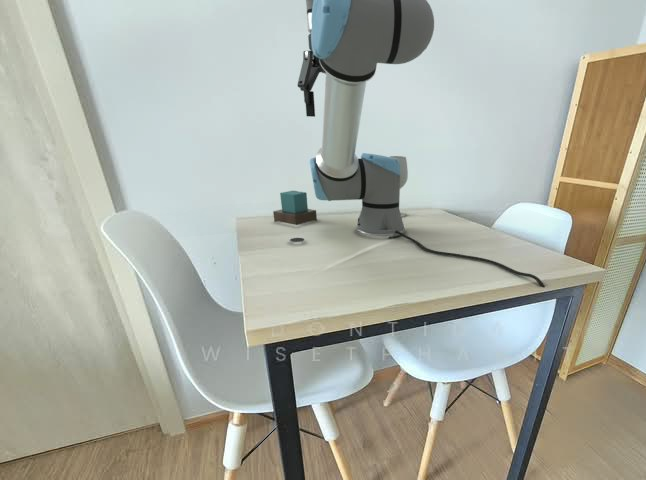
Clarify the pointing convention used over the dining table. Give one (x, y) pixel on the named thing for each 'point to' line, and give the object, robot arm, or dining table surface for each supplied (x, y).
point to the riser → (295, 216)
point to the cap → (297, 239)
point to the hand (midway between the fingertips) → (325, 117)
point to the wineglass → (402, 172)
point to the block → (294, 201)
